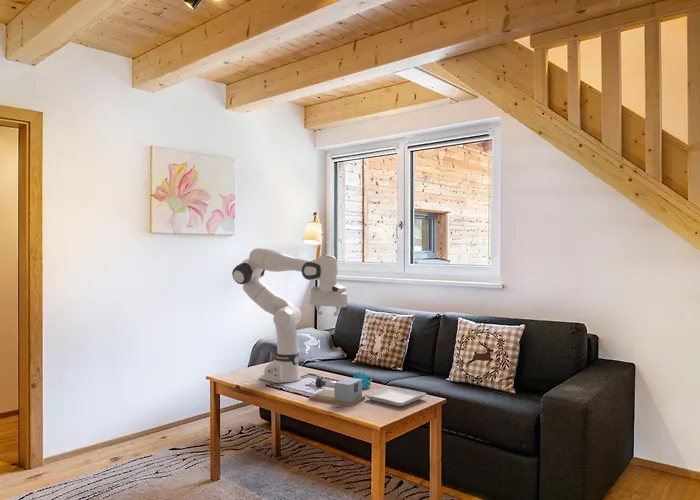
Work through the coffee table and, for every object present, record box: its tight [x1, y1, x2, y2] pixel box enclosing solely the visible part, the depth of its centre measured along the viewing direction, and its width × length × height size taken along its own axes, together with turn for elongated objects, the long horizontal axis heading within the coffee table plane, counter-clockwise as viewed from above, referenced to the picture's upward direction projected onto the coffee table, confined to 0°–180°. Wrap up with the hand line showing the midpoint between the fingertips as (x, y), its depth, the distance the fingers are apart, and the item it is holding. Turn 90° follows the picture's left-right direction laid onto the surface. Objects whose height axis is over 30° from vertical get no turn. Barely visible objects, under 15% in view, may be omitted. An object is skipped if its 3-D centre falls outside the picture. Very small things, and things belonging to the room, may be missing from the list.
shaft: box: [314, 376, 336, 389], centre depth 248 cm, size 14×5×5 cm, turn 61°
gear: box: [352, 371, 373, 391], centre depth 268 cm, size 11×6×10 cm
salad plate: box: [364, 385, 427, 407], centre depth 246 cm, size 21×21×3 cm
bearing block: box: [308, 376, 366, 407], centre depth 246 cm, size 22×14×9 cm, turn 61°
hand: (327, 315), depth 262 cm, fingers open, 8 cm apart
